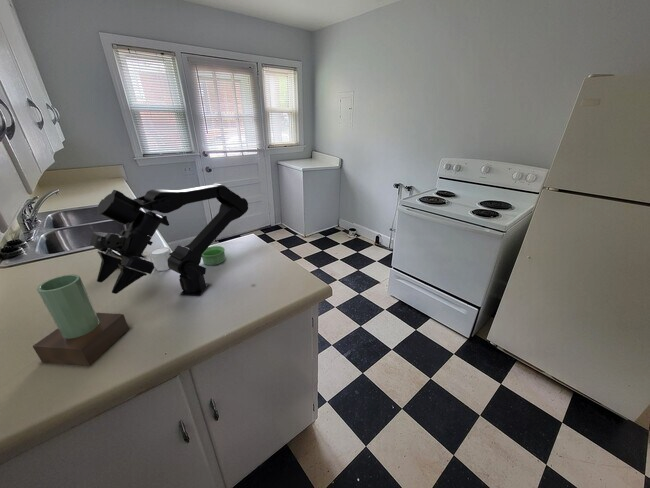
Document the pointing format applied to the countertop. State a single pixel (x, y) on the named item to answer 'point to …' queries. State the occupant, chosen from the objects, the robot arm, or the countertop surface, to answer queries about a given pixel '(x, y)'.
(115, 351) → the countertop surface
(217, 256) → the ramekin
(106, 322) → the block
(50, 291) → the tumbler
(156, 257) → the white cup
